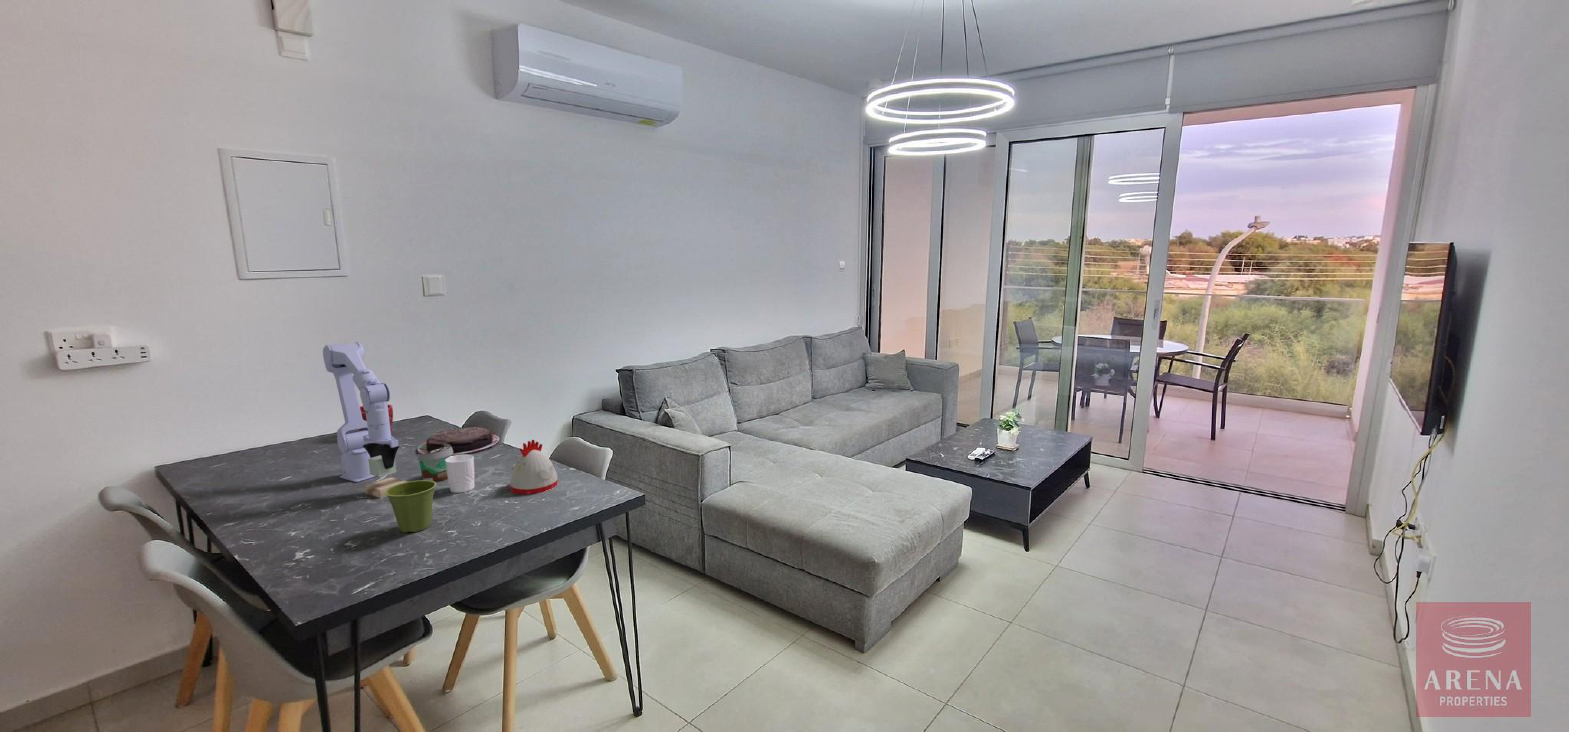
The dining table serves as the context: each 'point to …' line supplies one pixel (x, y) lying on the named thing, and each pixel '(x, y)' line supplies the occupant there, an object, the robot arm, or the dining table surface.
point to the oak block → (381, 487)
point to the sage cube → (379, 467)
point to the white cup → (460, 472)
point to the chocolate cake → (461, 440)
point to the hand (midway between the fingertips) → (383, 466)
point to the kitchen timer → (532, 471)
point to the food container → (435, 463)
